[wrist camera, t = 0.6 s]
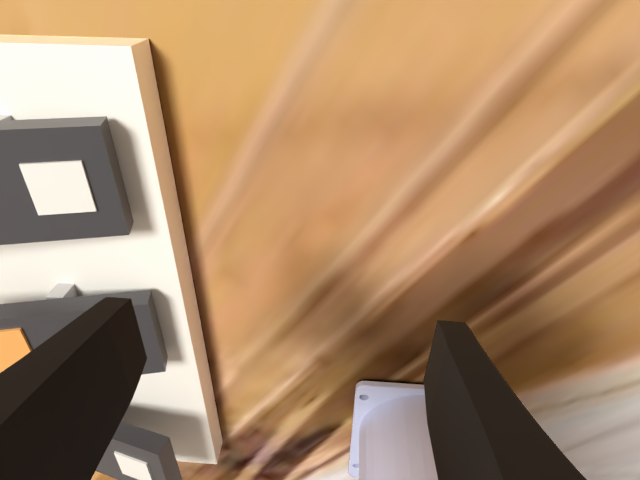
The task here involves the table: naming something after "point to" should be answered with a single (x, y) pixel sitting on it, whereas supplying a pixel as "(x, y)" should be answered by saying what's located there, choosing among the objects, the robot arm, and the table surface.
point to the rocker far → (139, 455)
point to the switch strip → (147, 211)
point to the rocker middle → (54, 314)
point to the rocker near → (60, 181)
